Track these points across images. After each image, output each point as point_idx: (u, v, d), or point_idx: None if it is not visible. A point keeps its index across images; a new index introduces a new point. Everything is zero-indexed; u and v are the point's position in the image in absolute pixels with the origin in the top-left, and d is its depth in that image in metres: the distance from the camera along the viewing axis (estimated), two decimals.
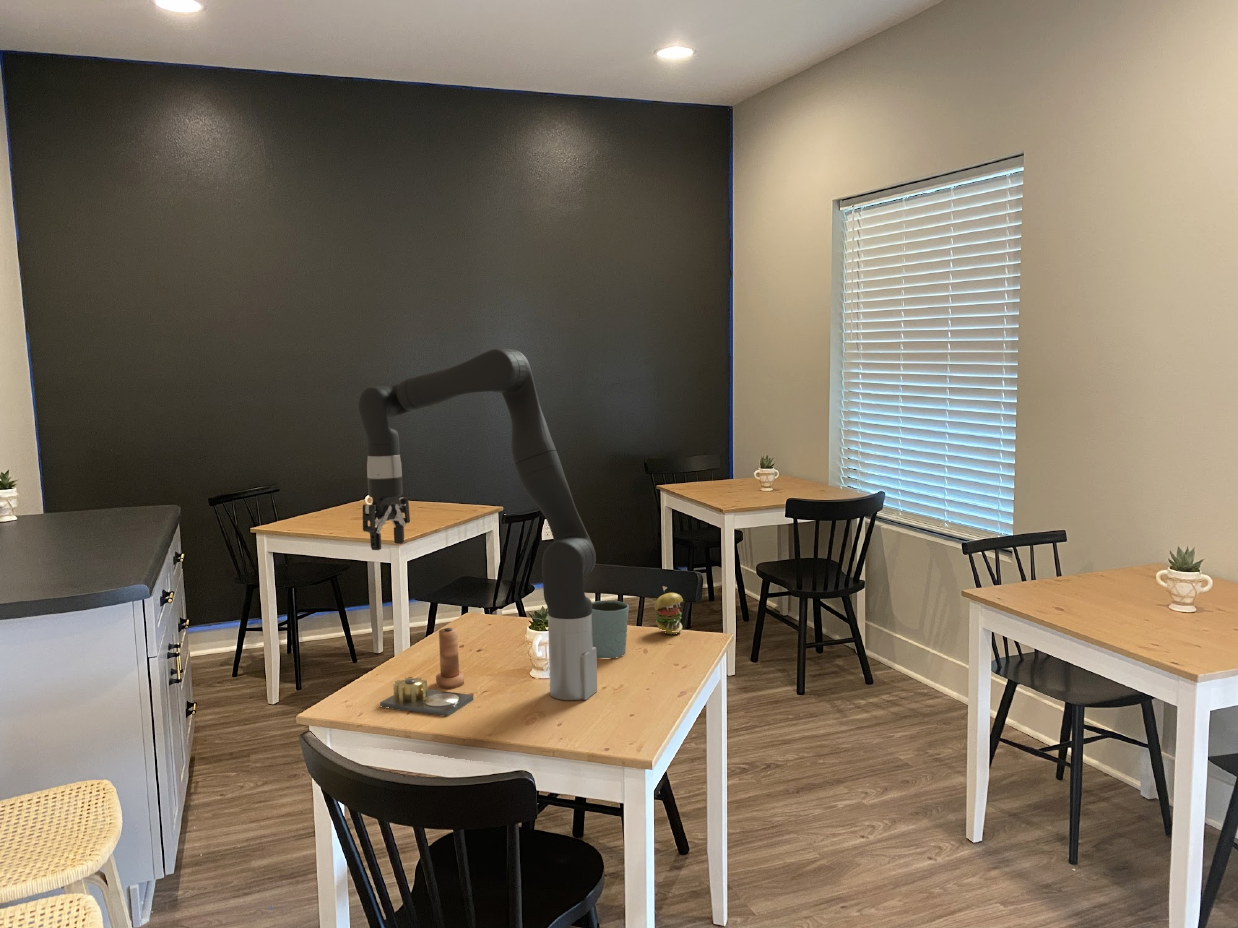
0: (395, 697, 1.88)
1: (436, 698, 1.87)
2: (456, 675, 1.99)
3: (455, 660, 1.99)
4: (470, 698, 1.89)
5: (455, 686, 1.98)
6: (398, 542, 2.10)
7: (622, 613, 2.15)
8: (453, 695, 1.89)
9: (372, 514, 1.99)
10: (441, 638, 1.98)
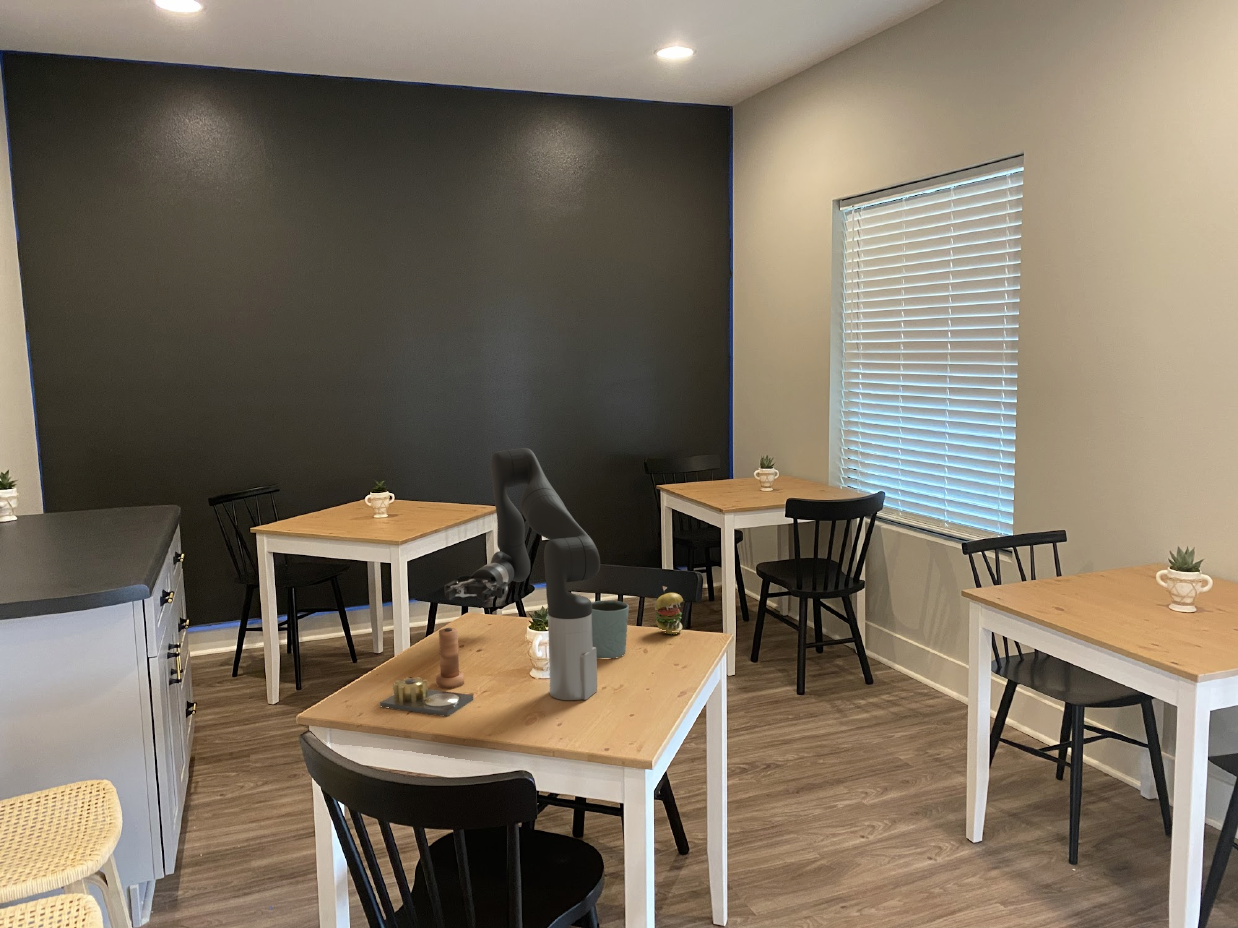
0: (395, 697, 1.88)
1: (436, 698, 1.87)
2: (456, 675, 1.99)
3: (455, 660, 1.99)
4: (470, 698, 1.89)
5: (455, 686, 1.98)
6: None
7: (622, 613, 2.15)
8: (453, 695, 1.89)
9: (451, 582, 2.19)
10: (441, 638, 1.98)
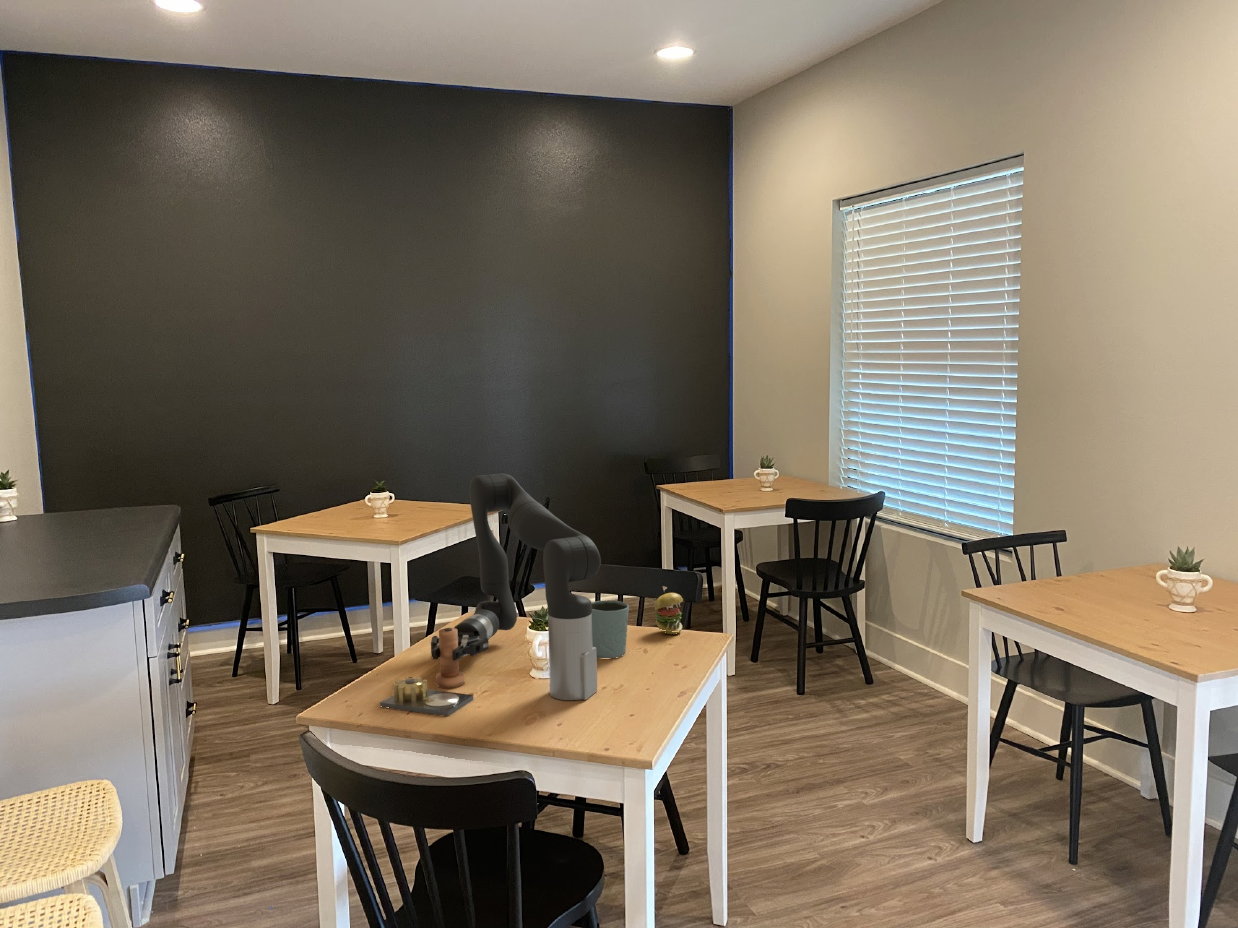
0: (395, 697, 1.88)
1: (436, 698, 1.87)
2: (456, 675, 1.99)
3: None
4: (470, 698, 1.89)
5: (455, 686, 1.98)
6: None
7: (622, 613, 2.15)
8: (453, 695, 1.89)
9: (433, 638, 2.06)
10: (441, 638, 1.98)
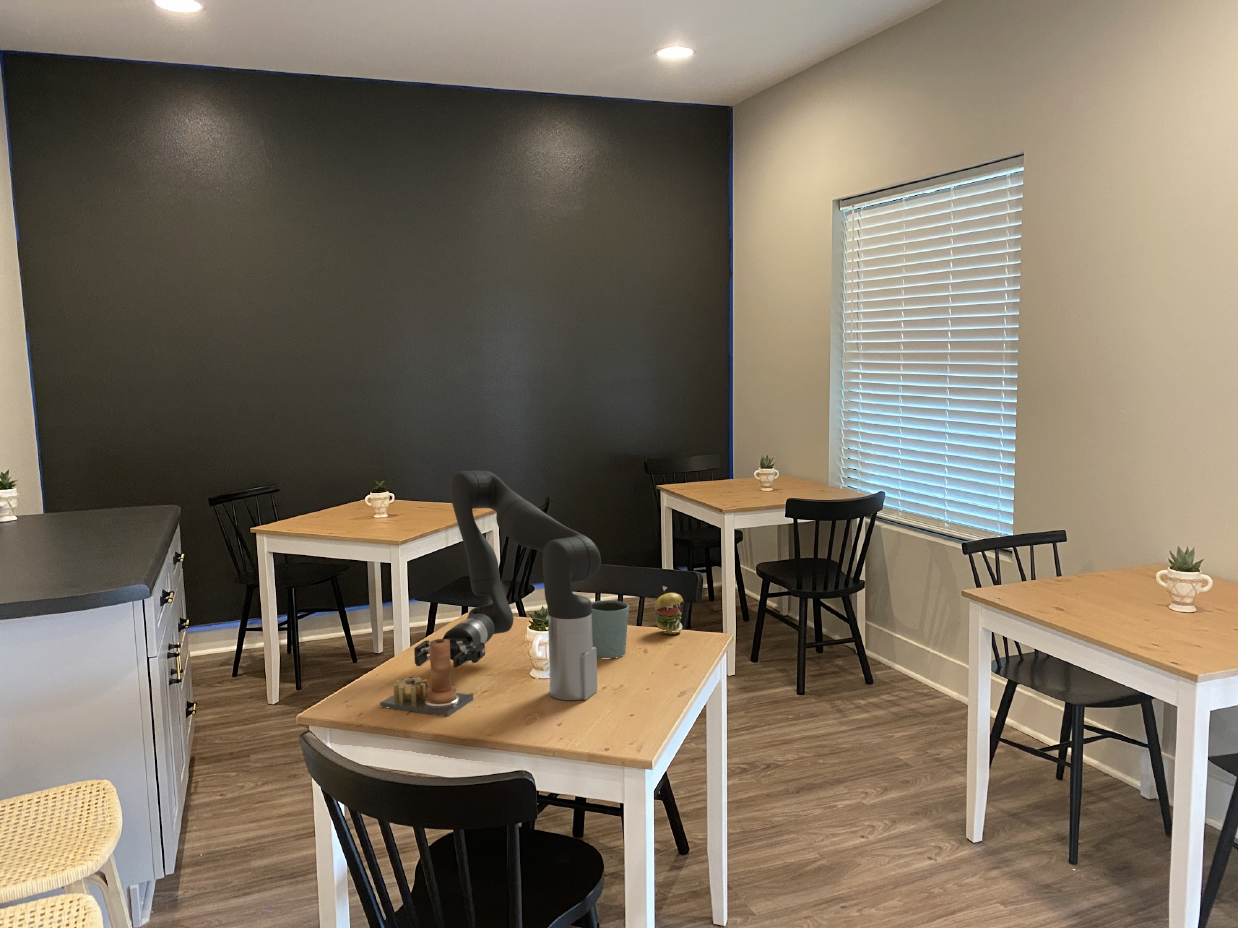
0: (395, 697, 1.88)
1: None
2: (448, 690, 1.86)
3: (447, 673, 1.85)
4: (470, 698, 1.89)
5: (447, 701, 1.85)
6: None
7: (622, 613, 2.15)
8: None
9: (422, 643, 1.93)
10: (432, 650, 1.84)
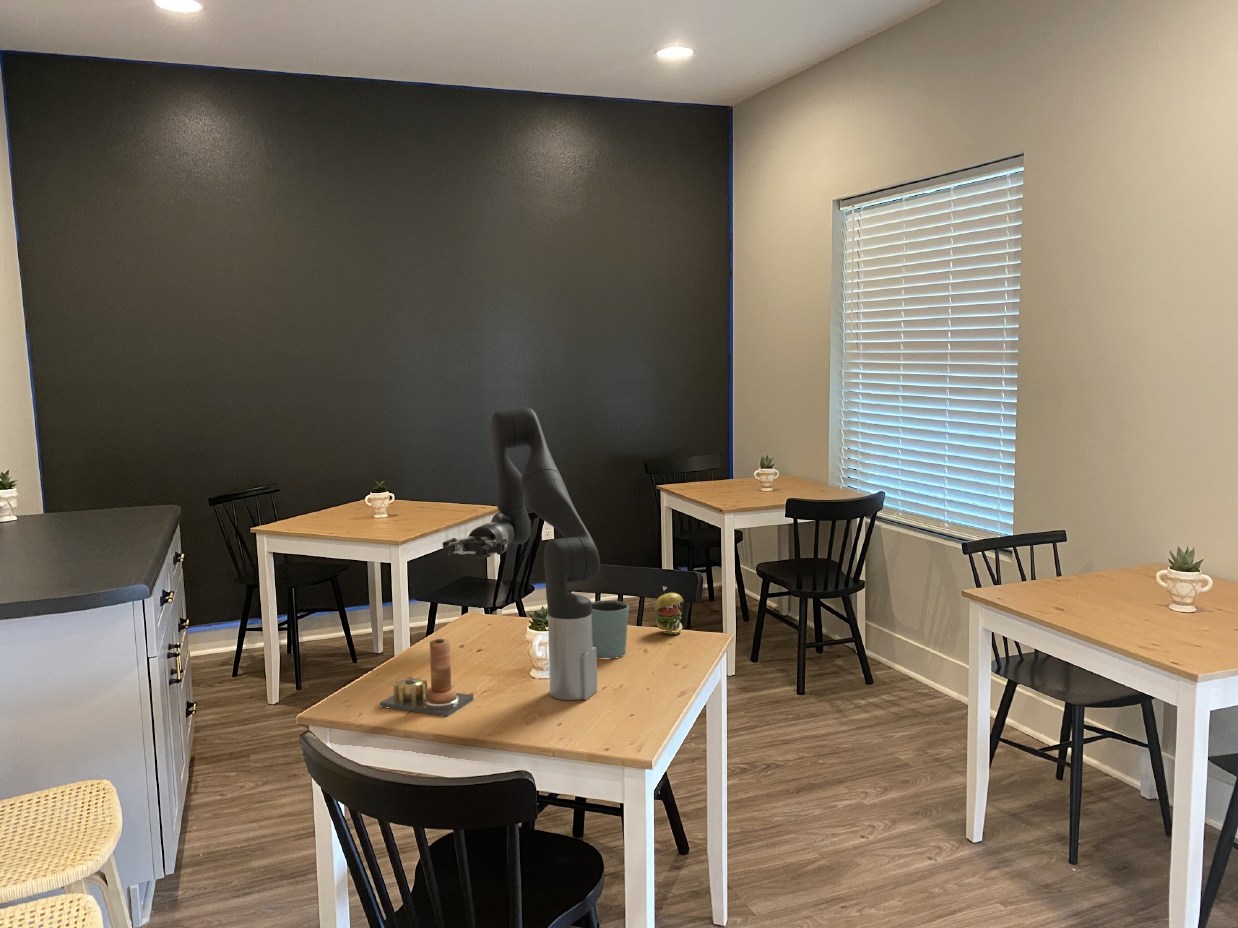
0: (395, 697, 1.88)
1: None
2: (448, 690, 1.86)
3: (447, 673, 1.85)
4: (470, 698, 1.89)
5: (446, 701, 1.85)
6: None
7: (622, 613, 2.15)
8: None
9: (450, 539, 2.13)
10: (432, 650, 1.84)
